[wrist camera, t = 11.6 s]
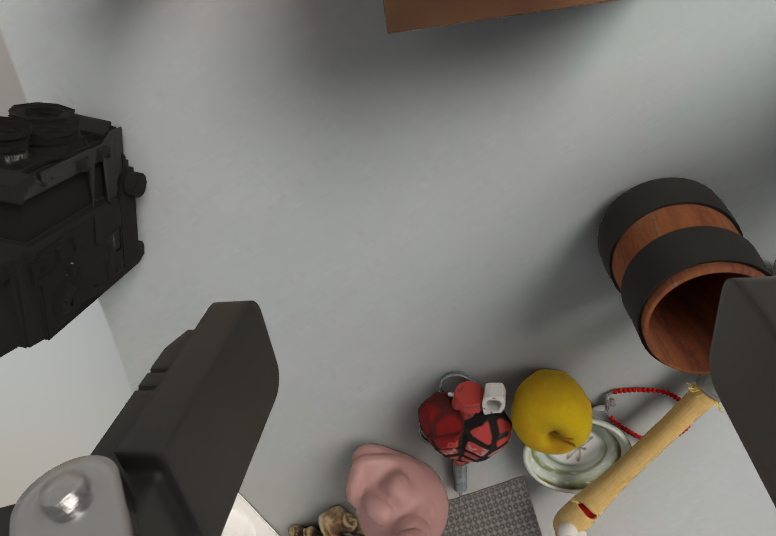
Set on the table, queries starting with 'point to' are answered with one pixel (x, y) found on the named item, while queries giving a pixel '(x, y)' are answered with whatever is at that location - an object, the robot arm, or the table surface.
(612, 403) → the necklace
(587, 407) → the apple
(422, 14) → the shelf
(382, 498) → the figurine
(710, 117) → the table surface
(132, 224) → the camera
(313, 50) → the table surface
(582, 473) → the saucer
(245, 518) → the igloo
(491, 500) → the grey studded plate
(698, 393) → the novelty tool
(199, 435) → the robot arm
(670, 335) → the mug
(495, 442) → the grenade
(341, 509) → the figurine
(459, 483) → the scissors
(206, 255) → the table surface
